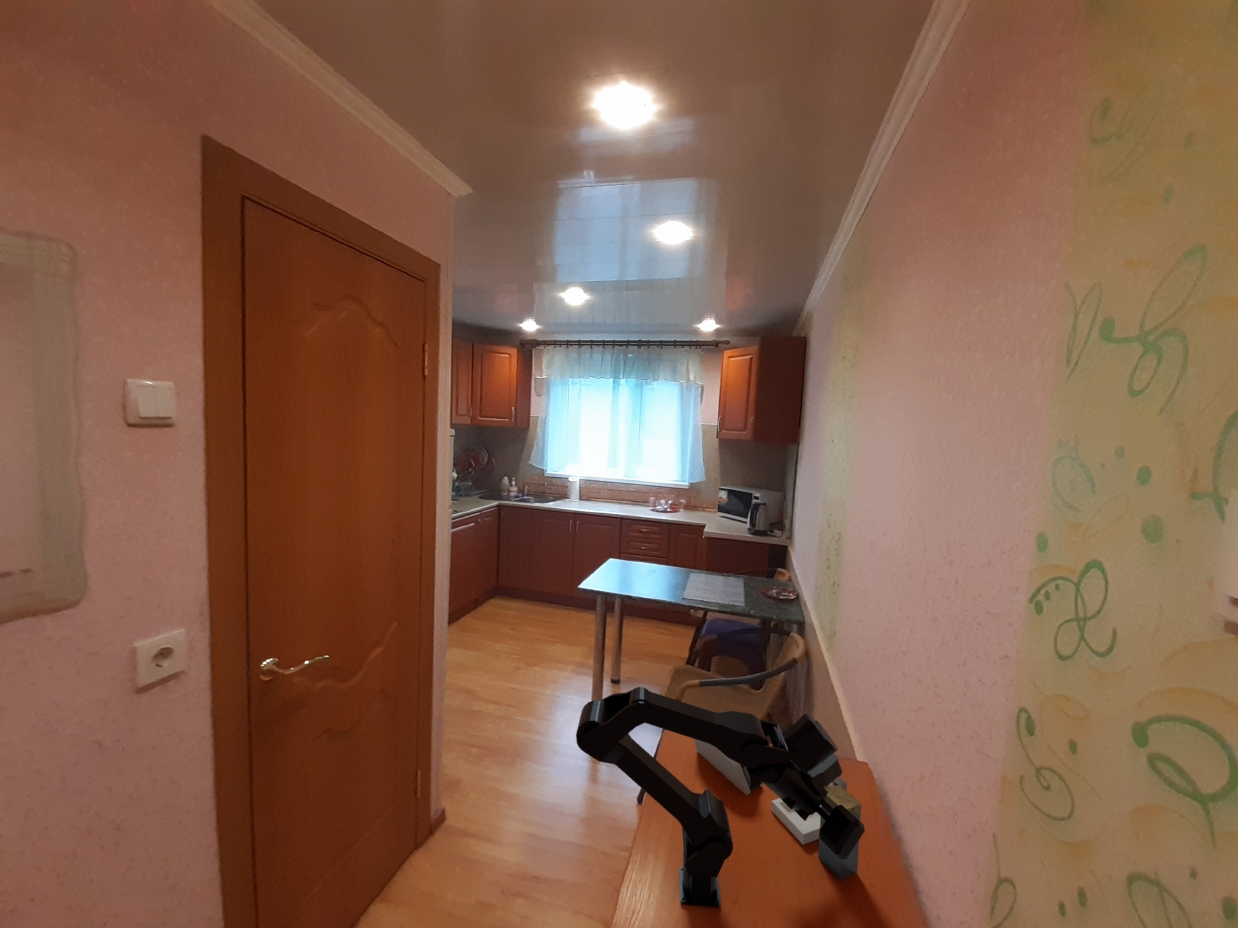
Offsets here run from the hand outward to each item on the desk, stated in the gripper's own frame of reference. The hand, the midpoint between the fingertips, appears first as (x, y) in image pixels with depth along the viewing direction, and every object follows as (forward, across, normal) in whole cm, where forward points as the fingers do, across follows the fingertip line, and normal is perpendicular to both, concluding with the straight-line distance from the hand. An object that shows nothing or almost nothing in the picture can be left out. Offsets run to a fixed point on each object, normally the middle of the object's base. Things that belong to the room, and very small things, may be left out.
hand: (833, 821), depth 89 cm
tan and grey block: (+8, 0, +5) cm, 9 cm away
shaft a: (+14, +12, -2) cm, 19 cm away
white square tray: (+9, +10, +4) cm, 14 cm away
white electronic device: (+4, +29, +9) cm, 30 cm away
